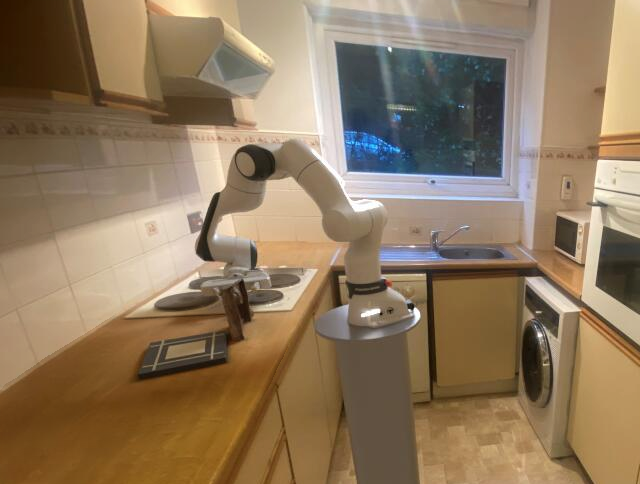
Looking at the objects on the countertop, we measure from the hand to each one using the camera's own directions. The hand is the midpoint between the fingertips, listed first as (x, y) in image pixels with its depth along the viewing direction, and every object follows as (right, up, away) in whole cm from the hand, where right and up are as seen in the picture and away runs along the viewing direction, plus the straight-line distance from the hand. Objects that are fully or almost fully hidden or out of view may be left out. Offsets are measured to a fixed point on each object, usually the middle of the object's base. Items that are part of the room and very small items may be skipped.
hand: (237, 291), depth 141 cm
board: (+2, -19, -24) cm, 30 cm away
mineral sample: (+7, -12, -8) cm, 17 cm away
